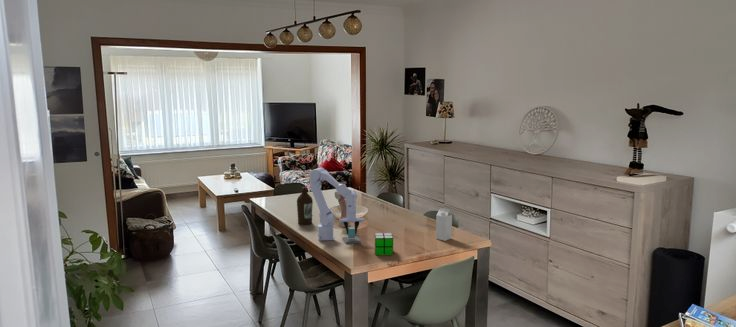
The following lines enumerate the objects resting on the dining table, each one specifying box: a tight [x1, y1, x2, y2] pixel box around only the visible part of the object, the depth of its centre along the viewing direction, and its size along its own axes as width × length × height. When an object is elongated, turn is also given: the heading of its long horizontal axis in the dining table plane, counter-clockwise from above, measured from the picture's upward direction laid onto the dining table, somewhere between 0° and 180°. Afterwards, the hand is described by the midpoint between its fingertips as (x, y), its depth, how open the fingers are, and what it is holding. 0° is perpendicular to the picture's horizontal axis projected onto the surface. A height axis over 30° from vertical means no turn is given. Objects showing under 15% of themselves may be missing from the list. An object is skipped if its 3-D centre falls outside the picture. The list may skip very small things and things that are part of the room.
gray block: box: [341, 235, 361, 245], centre depth 318 cm, size 9×9×2 cm
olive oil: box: [296, 186, 314, 226], centre depth 356 cm, size 11×11×25 cm
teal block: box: [347, 226, 356, 238], centre depth 317 cm, size 4×4×6 cm
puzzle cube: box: [374, 232, 394, 256], centre depth 297 cm, size 10×10×10 cm
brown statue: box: [334, 181, 351, 228], centre depth 350 cm, size 11×7×30 cm
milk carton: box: [435, 207, 453, 242], centre depth 322 cm, size 7×7×19 cm
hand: (351, 233), depth 317 cm, fingers closed on teal block, 4 cm apart
